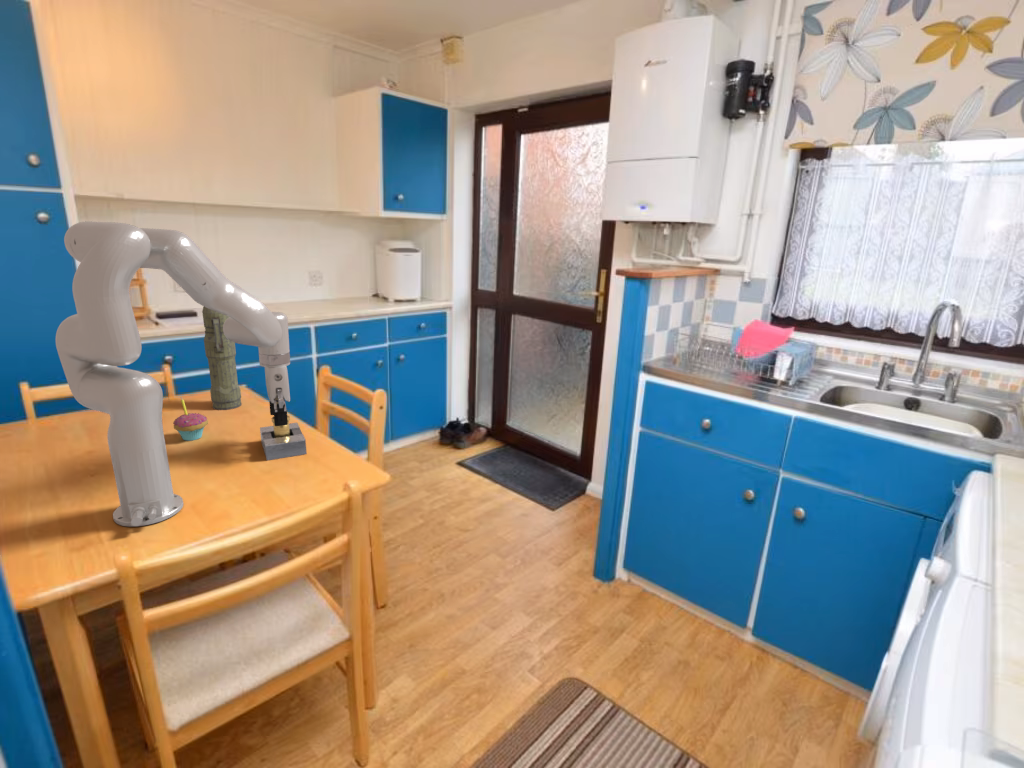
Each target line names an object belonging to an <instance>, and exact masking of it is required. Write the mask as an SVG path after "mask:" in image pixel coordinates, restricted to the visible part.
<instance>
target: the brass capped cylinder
mask: <svg viewBox="0 0 1024 768" xmlns="http://www.w3.org/2000/svg"><path fill="white" fill-rule="evenodd" d="M287 420H288V424H287V425H283V426H275V424H274V416H272V417H271V422H272V424H273V425H272V426H273V427H274V437H275V438H279V437H286V436H290V429H289V424H290V420H291V419H290V415H288V414H287Z"/></svg>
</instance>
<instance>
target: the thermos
mask: <svg viewBox="0 0 1024 768" xmlns="http://www.w3.org/2000/svg"><path fill="white" fill-rule="evenodd" d="M202 307H203V308H202V311H201V312H202V319H203V327H204V337H203V338H204V339H203V343H204V345H203V346H204V352H205V357H206V359H207V361H208V363H207V364H208V368H209V369H208V371H209V377H210V389H209V390H210V391H209V393H210V398H211V399H210V400H211V402H212V408H213V409H214V410H218V411H227V410H233V409H234V410H235V409H237V408H239V407H241V406H242V404H243V403H242V399H241V398H242V392H241V387H240V386H239V382H238V373H237V363H236V355H237V352H236V351H237V350H236V343H234V342H232V341H230V340H229V339H228V338H227V337H226V336H225V335H224V332H223V325H224V323H225V321H226V320H227V319H228V318H229V316H226V315H224V314H222V313H219V312H216V311H213V310H211V309H208V308H206V307H204V306H202Z"/></svg>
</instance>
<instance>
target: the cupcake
mask: <svg viewBox="0 0 1024 768" xmlns="http://www.w3.org/2000/svg"><path fill="white" fill-rule="evenodd" d="M180 398H181V400H180V402H181V405H182V409H183V412H184V413H183V414H182V415H179V416H178V417H176V418H175V420H174V421H173V422H172V423H173V429H174V430H176V431H177V432H178V433H179V435H180V437H181V438H182V440H184V441H187V442H192V441H196V440H199V439H201V438H202V437H203V432H204V429H205V427H206V426H208V425H209V419H208V418H207V416H205V415H204V414H203V415H202V414H201V413H199V412H198V413H196V412H195V413H193V412H191V413H188V411H187V406H186V404H185V400H184V399H183V398H182V397H180Z"/></svg>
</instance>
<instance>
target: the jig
mask: <svg viewBox="0 0 1024 768" xmlns="http://www.w3.org/2000/svg"><path fill="white" fill-rule="evenodd" d="M289 429H290V436H286V437H279V438H275V437H274V427H273V425H270V426H262V427H259V431H260V432H259V433H260V441H261V445H262V449H263V452H264V455H265V459H266V461H271V460H278V459H284V458H291V457H298V456H302V455H307V454H308V453H307V441H306V438H305V436H304V433H303V431H301V427H300V425H299V423H298V422H291V423H290V422H289Z"/></svg>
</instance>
